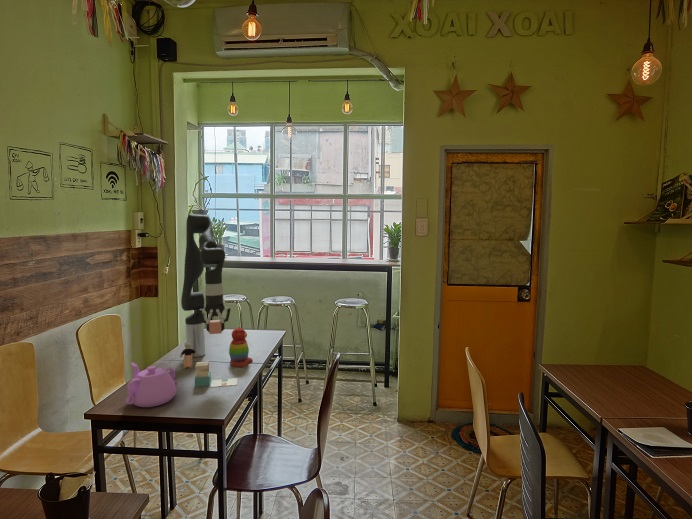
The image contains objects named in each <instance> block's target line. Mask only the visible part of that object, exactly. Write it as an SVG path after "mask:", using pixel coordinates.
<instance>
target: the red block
mask: <svg viewBox="0 0 692 519" xmlns="http://www.w3.org/2000/svg"><path fill="white" fill-rule="evenodd" d="M222 332H223V331H221V320H220V319H213V320H211V319H210V321H209V332H208V333H209V335H215V334H222Z"/></svg>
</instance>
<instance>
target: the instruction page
mask: <svg viewBox="0 0 692 519" xmlns="http://www.w3.org/2000/svg"><path fill="white" fill-rule="evenodd" d="M238 380H239V379H238V378H237V377H234V378H222V379H211V383H210V388H217V387H219V386H221V387H231V386H230V385H233V386H238ZM219 388H220V387H219Z"/></svg>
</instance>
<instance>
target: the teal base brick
mask: <svg viewBox="0 0 692 519" xmlns="http://www.w3.org/2000/svg"><path fill="white" fill-rule="evenodd" d="M211 373H212V372H211V371H209V375H208V376H207V377H196V374H195V376H194V388H198V386H201V387H210V386H211V383H212V376H211ZM210 382H211V383H210ZM209 385H210V386H209Z"/></svg>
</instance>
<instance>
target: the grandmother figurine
mask: <svg viewBox="0 0 692 519" xmlns="http://www.w3.org/2000/svg"><path fill="white" fill-rule="evenodd" d="M191 346H192V344H191V343H190V342H186V341H185V342H184V349H183V350H182V351H181V353H180V355H179V358H183V366H182V369H183V370H184V369H187V368H188V369H192V368H193V357H192V354H191V353H193V354H194V355H195V356H197V354H196V351H194V350H193V349H190V347H191ZM183 355H184V356H183Z"/></svg>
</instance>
